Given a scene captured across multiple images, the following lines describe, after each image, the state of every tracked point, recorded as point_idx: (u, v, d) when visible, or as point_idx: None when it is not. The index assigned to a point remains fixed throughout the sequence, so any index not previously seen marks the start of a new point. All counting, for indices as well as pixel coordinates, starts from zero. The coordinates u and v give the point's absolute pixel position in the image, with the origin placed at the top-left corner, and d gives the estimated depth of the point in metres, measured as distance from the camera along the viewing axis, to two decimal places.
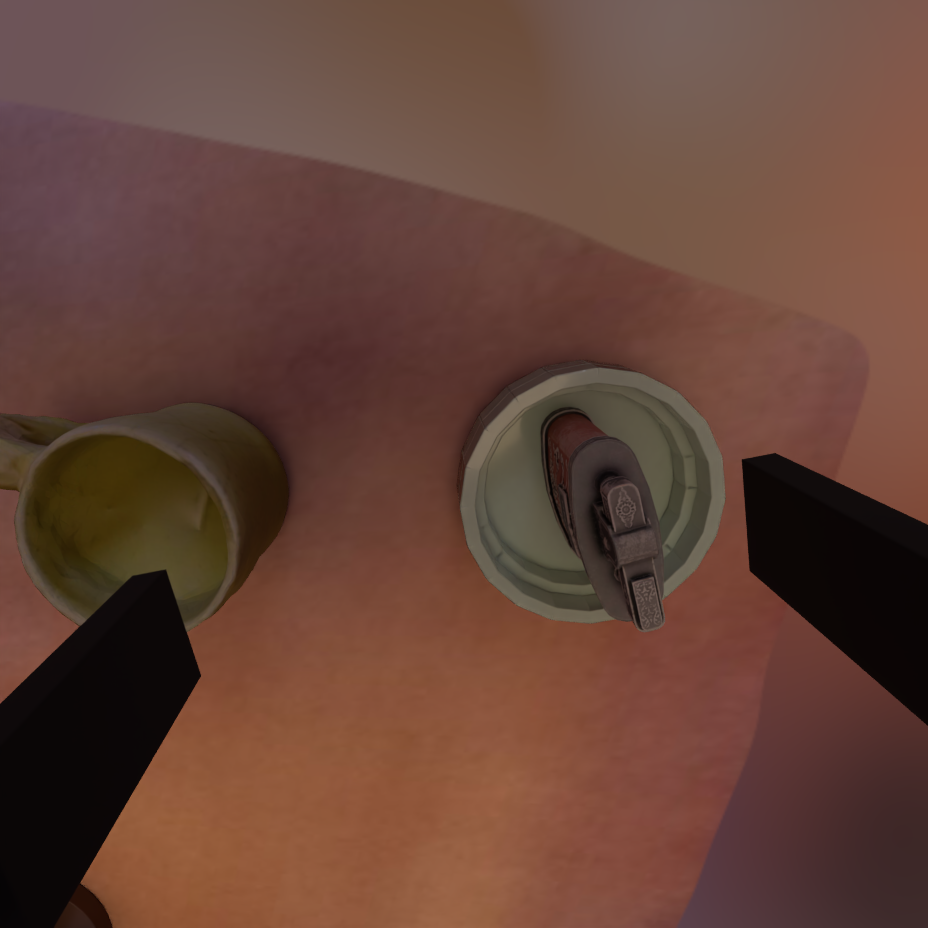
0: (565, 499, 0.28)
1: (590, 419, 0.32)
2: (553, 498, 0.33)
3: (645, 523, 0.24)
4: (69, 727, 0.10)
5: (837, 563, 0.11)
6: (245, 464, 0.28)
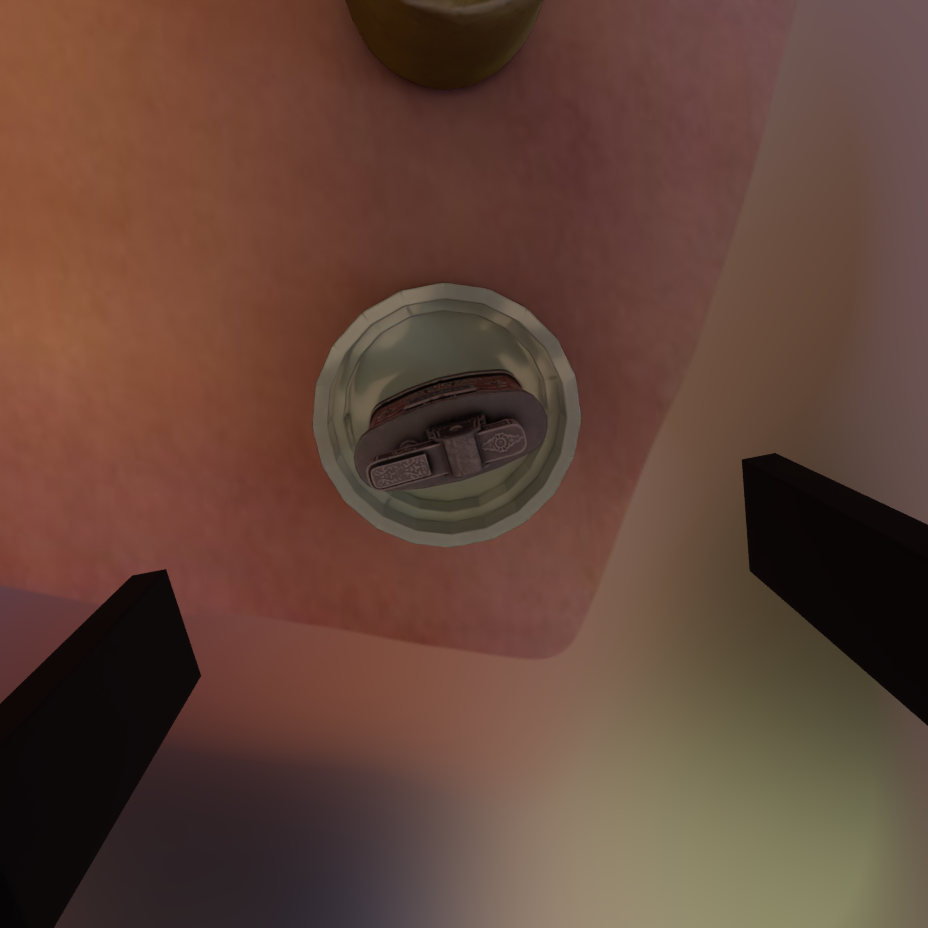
0: (470, 389, 0.28)
1: None
2: (434, 384, 0.32)
3: (484, 463, 0.25)
4: (69, 727, 0.10)
5: (837, 563, 0.11)
6: (508, 35, 0.25)
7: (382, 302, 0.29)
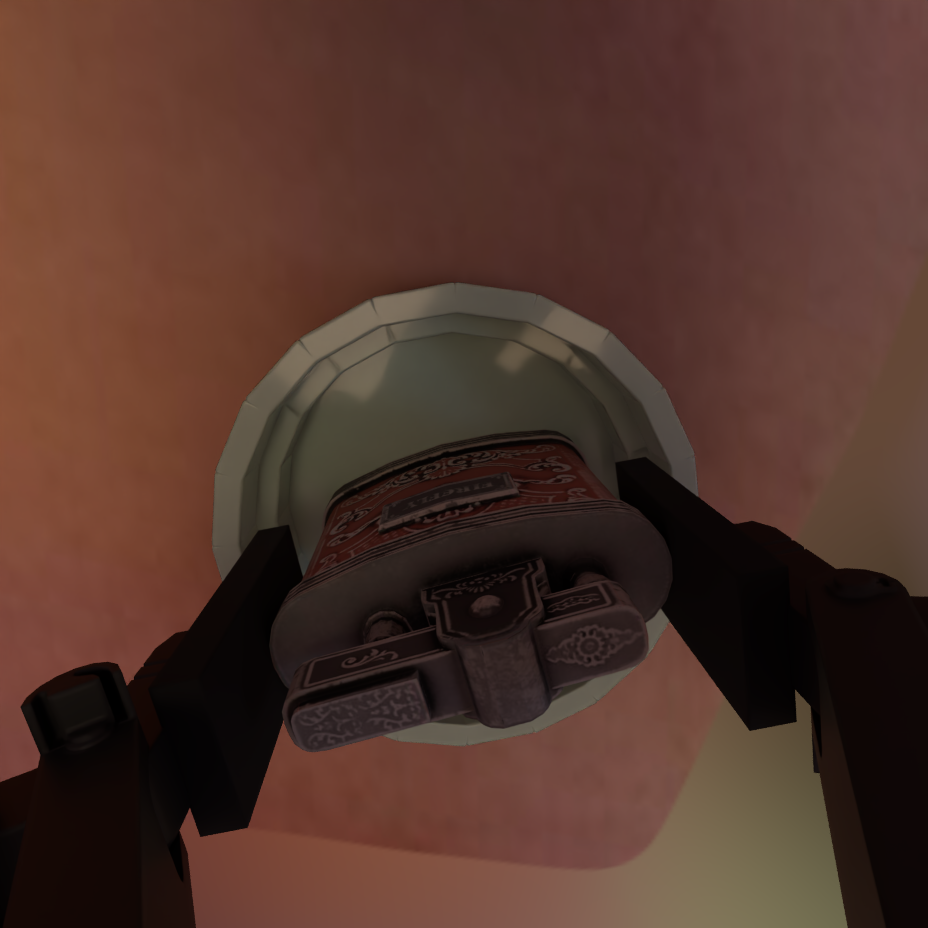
0: (506, 493, 0.14)
1: None
2: (436, 458, 0.19)
3: (553, 688, 0.11)
4: (247, 647, 0.12)
5: None
6: None
7: (337, 320, 0.15)
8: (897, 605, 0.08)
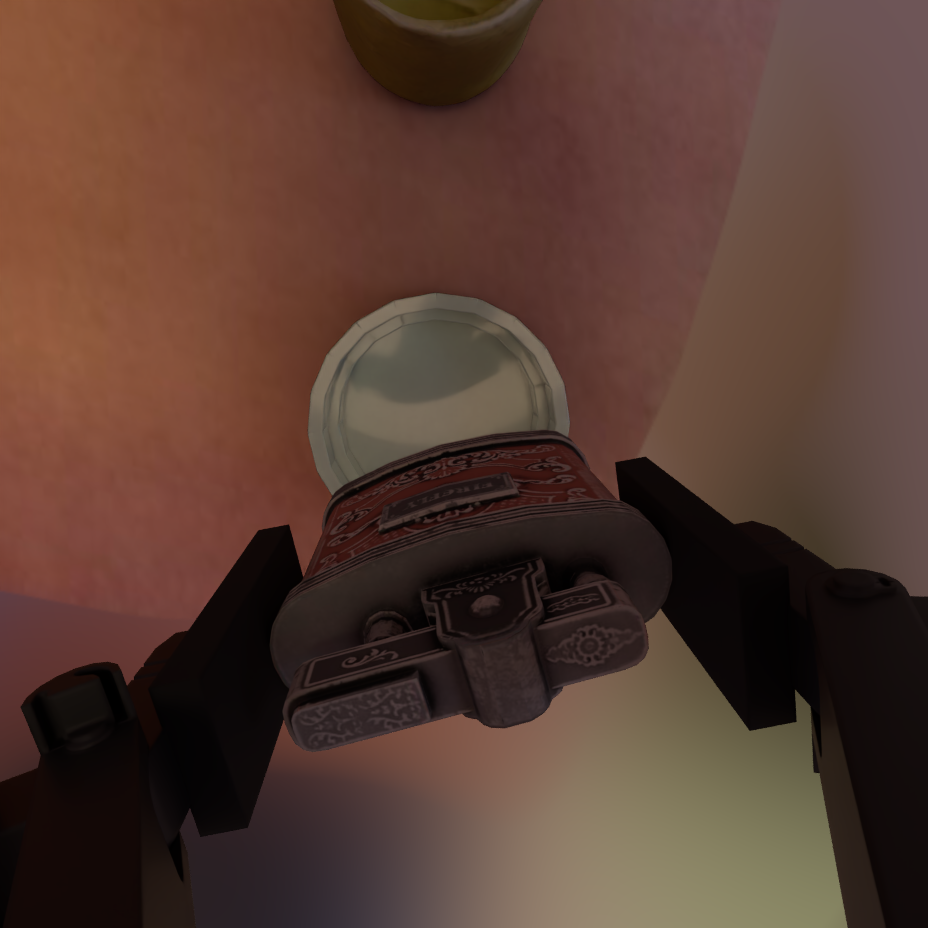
0: (506, 493, 0.14)
1: None
2: (436, 458, 0.19)
3: (552, 688, 0.11)
4: (247, 647, 0.12)
5: None
6: (496, 55, 0.26)
7: (375, 311, 0.30)
8: (897, 605, 0.08)
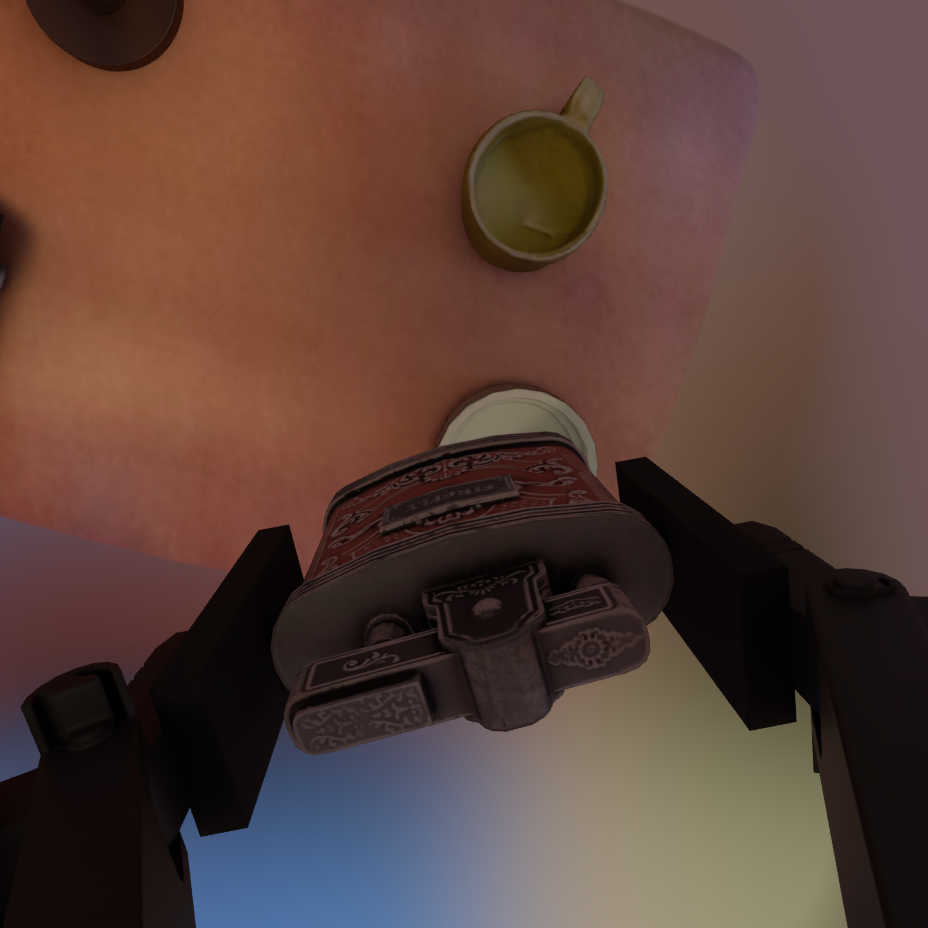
0: (507, 494, 0.14)
1: None
2: (437, 460, 0.19)
3: (554, 691, 0.11)
4: (248, 646, 0.12)
5: None
6: None
7: (481, 399, 0.48)
8: (896, 605, 0.08)
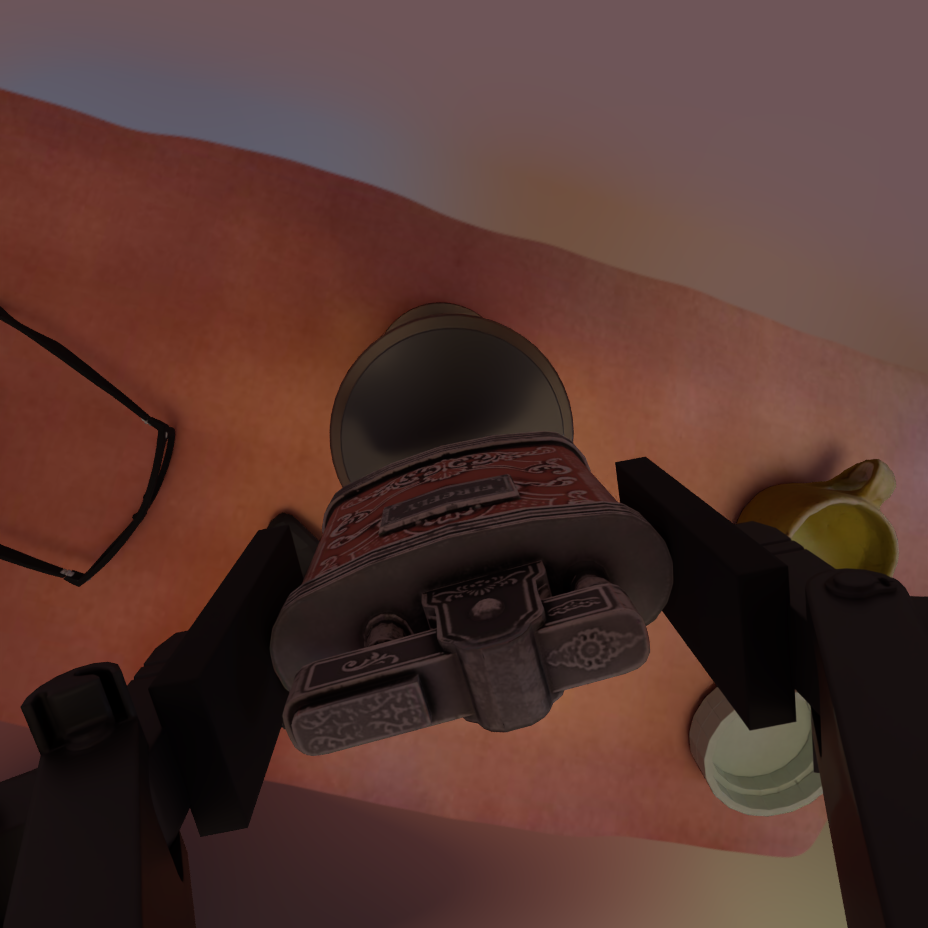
0: (506, 495, 0.14)
1: None
2: (436, 460, 0.19)
3: (553, 692, 0.11)
4: (247, 646, 0.12)
5: None
6: None
7: None
8: (897, 605, 0.08)
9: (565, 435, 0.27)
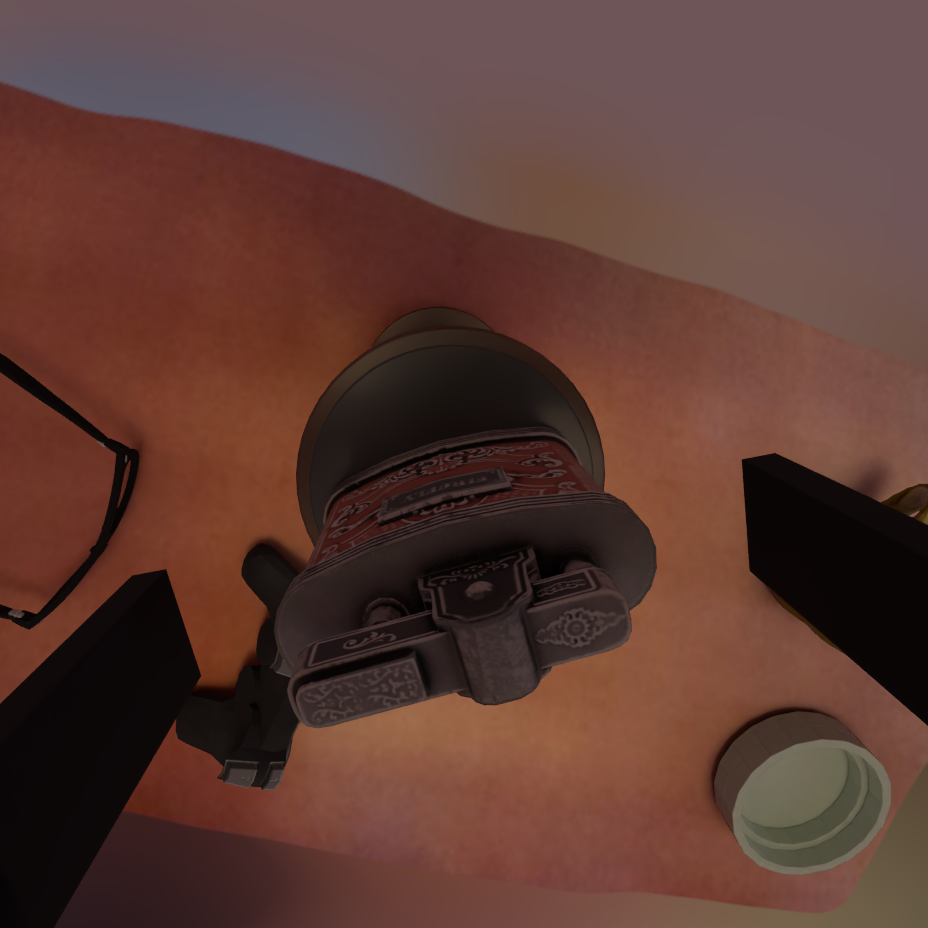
0: (500, 486, 0.15)
1: None
2: (433, 454, 0.19)
3: (541, 668, 0.12)
4: (69, 727, 0.10)
5: (837, 563, 0.11)
6: None
7: (785, 750, 0.49)
8: None
9: (594, 478, 0.21)
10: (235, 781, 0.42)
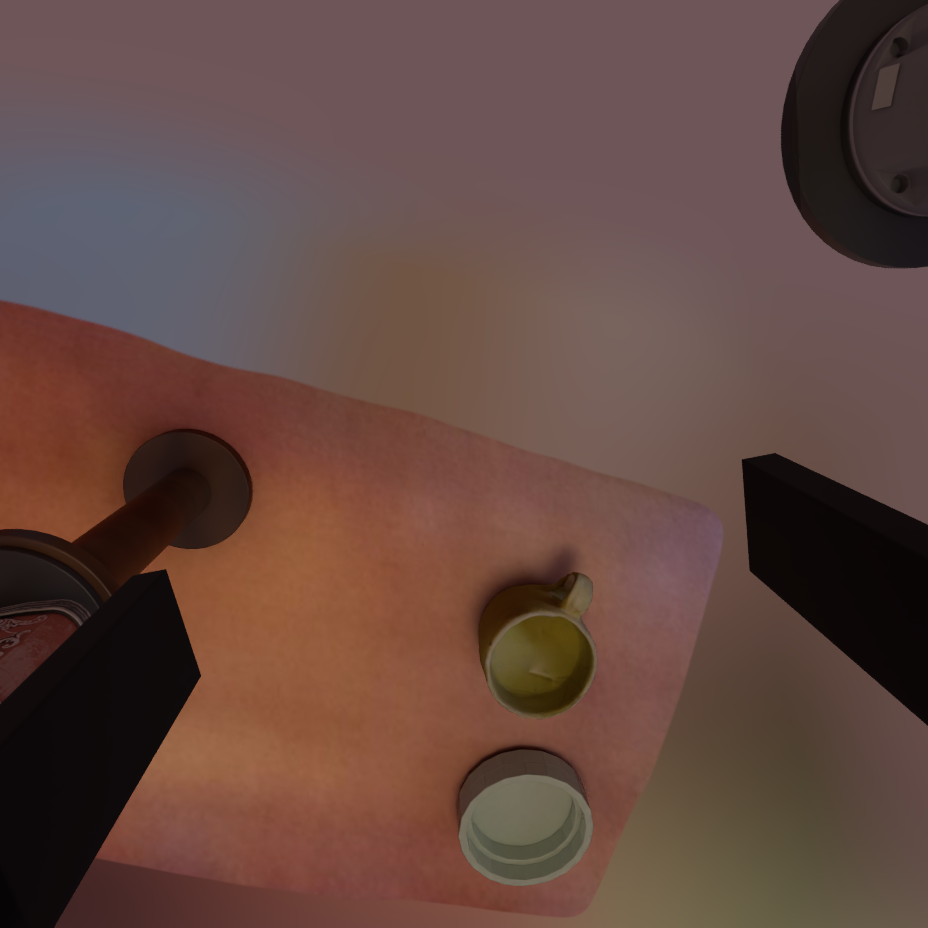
0: None
1: None
2: None
3: None
4: (69, 727, 0.10)
5: (837, 563, 0.11)
6: None
7: (496, 784, 0.59)
8: None
9: None
10: None
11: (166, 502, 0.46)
